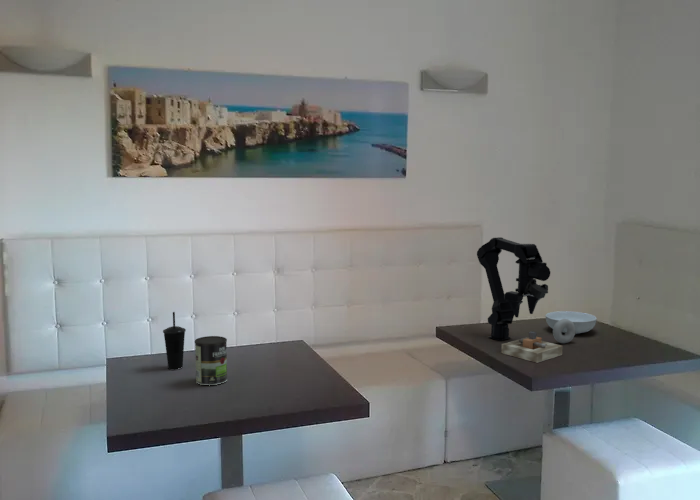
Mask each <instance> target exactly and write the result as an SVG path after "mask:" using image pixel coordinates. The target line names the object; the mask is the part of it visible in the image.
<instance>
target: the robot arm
mask: <svg viewBox="0 0 700 500" xmlns="http://www.w3.org/2000/svg"><path fill="white" fill-rule="evenodd" d="M502 251H506V252H509V253H511V254H513V255H514V256H515V257H516V258H518V259H517V260H516V261H515V264H518V276H517V277H516V278H515V282H517V288H514V289H515V291H513V290H511V291H506V292H505V291H504V287H503V284H502V280H501V276H500V272H499V269H498V263H499V261H500V257H499V255H500V254H501V253H502ZM476 256H477V260H478V263H479V264H480V265H481V266H482V267H483V268H484V269H485V273H486V276H487V281H488V285H489V289H490V292H491V296H492V300H493V303H492V306H491V314H490V315H489V316H488V317H487V323H488V324H489V325H491V328H490V329H491V331H490V332H491V334H490V336H488V339H492V340H497V341H501V342H502V341H505V340H509V339H511V337H510V327H509V325H511V324H512V323H513V321H514V318H519V314H520V309H521V308H520V307H521V304H522V303H523V302H524V301H523V299H524V297H526V300H527V306H528V311H529V314H530V315H533V314H534V311H535V309H536V306H537V303H538V302H539V301H540V300H541V299H544V298H545V297H546V295H547V294H549V285H547V284H546V283H544V284H543V283H542V284H538V283H537V280H539V281H542V282H545V281H548V279H549V278H550V276H551V269H550V268H549V266H548V265H547V262H544V261H543V257H542V256H541V253H540V252H539V249H538V247H537V245H536V244H535V243H519V242H517V241H512V240H510V239H506V238H504V237H492V238H491V239H490V240H489V241H487V242H486V243H485V244H483V245H481V246H480V247H479V248H478V250H477V252H476Z"/></svg>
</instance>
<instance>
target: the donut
mask: <svg viewBox="0 0 700 500" xmlns="http://www.w3.org/2000/svg"><path fill="white" fill-rule="evenodd" d="M564 327H566V328H567V332H566V333H564V334H563V333H562V329H563V328H564ZM575 331H576V330H575V326H574V324H573V322H572V321H570V320H568V319H561V320H559V321H558V322H557V323H556V324H555V325H554V328H553V329H552V335H553V337H554V340H556V342H558V343H560V344H569V342H571V341H572V340H573V339H574V338H575V335H576V334H575Z"/></svg>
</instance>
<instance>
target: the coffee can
mask: <svg viewBox="0 0 700 500" xmlns="http://www.w3.org/2000/svg"><path fill="white" fill-rule="evenodd" d="M227 340H228V338H226V337H224V336H219V335H209V336H208V335H207V336H202V337H198V338H195V339H194V344H195V346H194V349H195V350H194V351H195V354H194V355H195V383H196V384H197V383H198V384H200V385H199V386H201V385H209V386H208V387H211V386H210V385H217V384H221V383H224V382H226V381H227V382H228V358H227V357H228V356H227V355H228V354H227V349H228V348H227V347H228V346H227ZM227 382H226V383H227ZM198 384H197V385H198ZM224 384H225V383H224ZM221 385H222V384H221ZM217 386H218V385H217Z"/></svg>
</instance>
